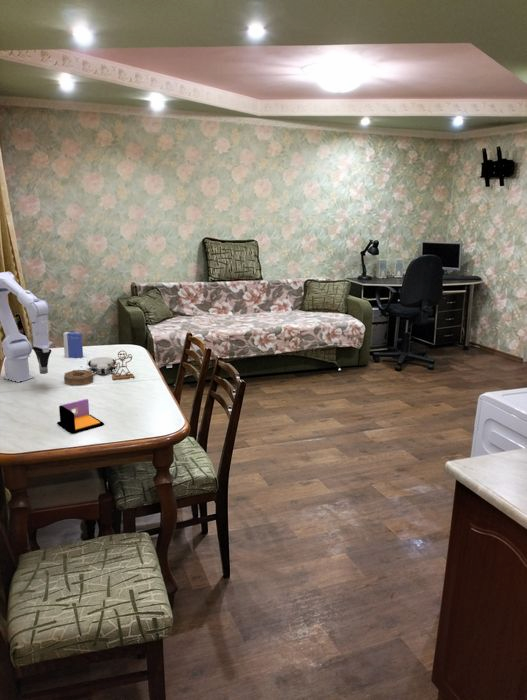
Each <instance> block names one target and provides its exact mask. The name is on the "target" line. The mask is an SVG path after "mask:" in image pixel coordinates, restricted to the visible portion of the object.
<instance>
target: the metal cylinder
mask: <svg viewBox="0 0 527 700" xmlns="http://www.w3.org/2000/svg"><path fill="white" fill-rule="evenodd" d="M38 358H39V357H38ZM48 368H49V367H48V366H47V367H41V364H40V360H39V362H38V369H39V374H40V375H46V374H48V373H49V371H48V370H49V369H48Z"/></svg>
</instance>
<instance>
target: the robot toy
mask: <svg viewBox="0 0 527 700" xmlns="http://www.w3.org/2000/svg"><path fill="white" fill-rule="evenodd" d="M116 359H117V357H114V358H113V357H106V356H105V357H103V356H100V357H93V358H91V359H90V360H89V358H87V364H86V365H87V366H88V367H89V368H90V370H89V371H92V372H93V374H95V373H97V374H98V375H107V374H108V373H109V372H111V373H116V372H117V370H118V369H116V367H113V362H114V361H115V360H116ZM114 363H116V364H117V360H116V361H115V362H114ZM114 366H116V365H114Z"/></svg>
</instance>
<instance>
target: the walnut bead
mask: <svg viewBox="0 0 527 700" xmlns="http://www.w3.org/2000/svg"><path fill="white" fill-rule="evenodd" d="M63 380H64V381H63V382H64V384H65V385H68V386H74V385H77V386H86V385H89V384H91V383H94V373H93V372H92V371H90V370H88V369H78V370H77V369H76V370H75V369H74V370H70V371H67V372H65V373H64V375H63ZM85 384H86V385H85ZM74 387H75V386H74Z"/></svg>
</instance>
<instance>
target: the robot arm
mask: <svg viewBox="0 0 527 700" xmlns="http://www.w3.org/2000/svg"><path fill="white" fill-rule="evenodd" d="M10 293H12V294H13V295H14V296H16V297H17V301H18V302H19V303H20V304H21V305H22V306H23V307H24V308H25V309H26V312H27V314H28V317H29V321H30V322H31V328H32V341H33V342H32V344H31V342H30V341H29V340H28V338H27V336H26V335H24V334H22V333H20V331H19V328H18V326H17V323H16V320H15V317H14V315H13V312H12V309H11V307H10V305H9V302H8V299H7V295H8V294H10ZM50 312H51V306H50V304H49V303H48V301H47V300H45V299H43V300H42V299H39V298H38V297H37V296H35V294H33V293H32V292H31V291H30V290H29V289H26V290H25V289H23V287H21V285H20V284H19V283H18V282H17V281H16V277H15V275H14V274H13V273H12V272H10V271H9V270H8V271H3V272H0V324H1V327H2V329H3V333H4V335H5V337H4V339H3V340H2V342H1V347H2V354H3V356H4V357H5V360H4V362H3V366H4V377H3V379H4V378H5V380H8V379H9V381H11V380H12V382H15V381H16V383H20V381H22V382H25V381H27V380H31V379H34V378H35V375H31V374H30V366H29V357H31V356H30V355H31V354H32V352H34V353H35V356H36V358H37V362H38V363H39V360H40V364H41V367H48V364H49V359H50V356H51V353H52V349H51V348H50V346H51V345H53V344H54V343H53V342H52V341H50V337H49V335H50V334H49V322H48V321H49V320H48V315H49V314H50ZM49 348H50V349H49ZM38 357H39V358H38Z"/></svg>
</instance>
